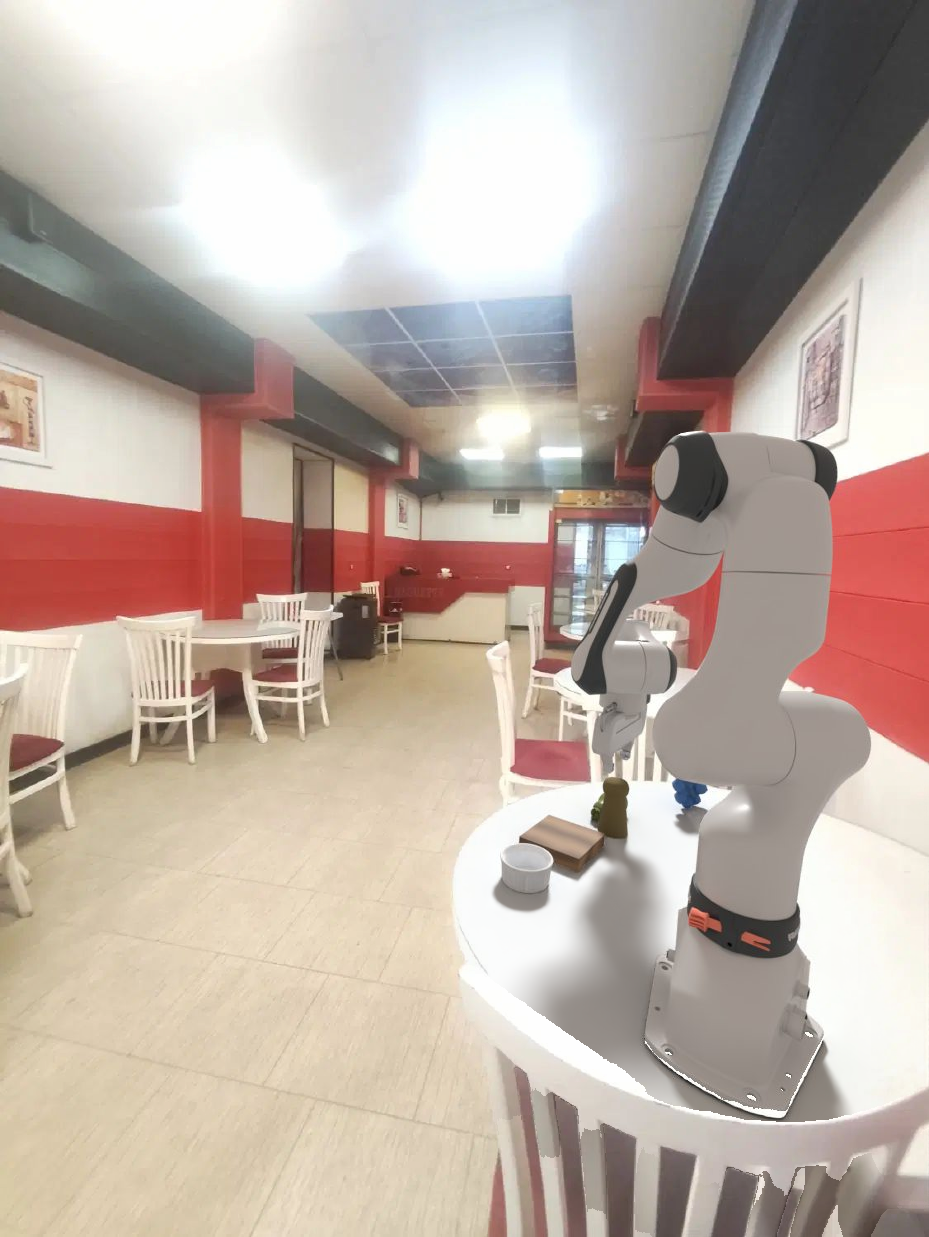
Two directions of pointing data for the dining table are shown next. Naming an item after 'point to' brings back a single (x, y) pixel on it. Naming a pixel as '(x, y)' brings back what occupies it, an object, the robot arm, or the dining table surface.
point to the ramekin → (526, 867)
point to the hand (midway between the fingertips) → (616, 765)
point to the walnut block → (565, 841)
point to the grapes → (688, 792)
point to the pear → (600, 808)
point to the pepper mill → (614, 808)
